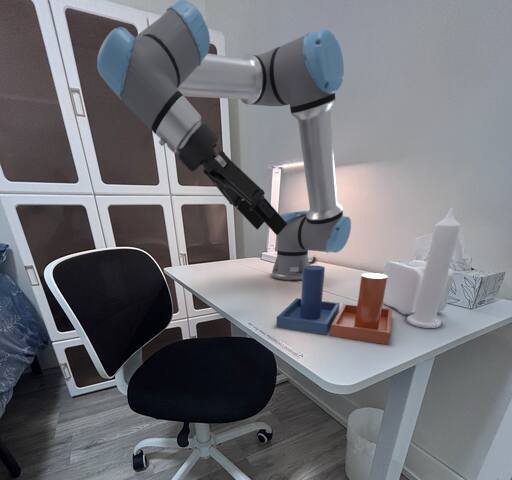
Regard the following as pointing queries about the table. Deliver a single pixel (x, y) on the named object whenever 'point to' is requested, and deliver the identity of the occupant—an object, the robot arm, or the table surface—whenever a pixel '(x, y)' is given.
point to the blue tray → (295, 322)
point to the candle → (436, 272)
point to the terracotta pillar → (370, 300)
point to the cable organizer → (409, 285)
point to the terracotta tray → (346, 329)
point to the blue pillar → (312, 291)
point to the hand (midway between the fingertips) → (270, 227)
